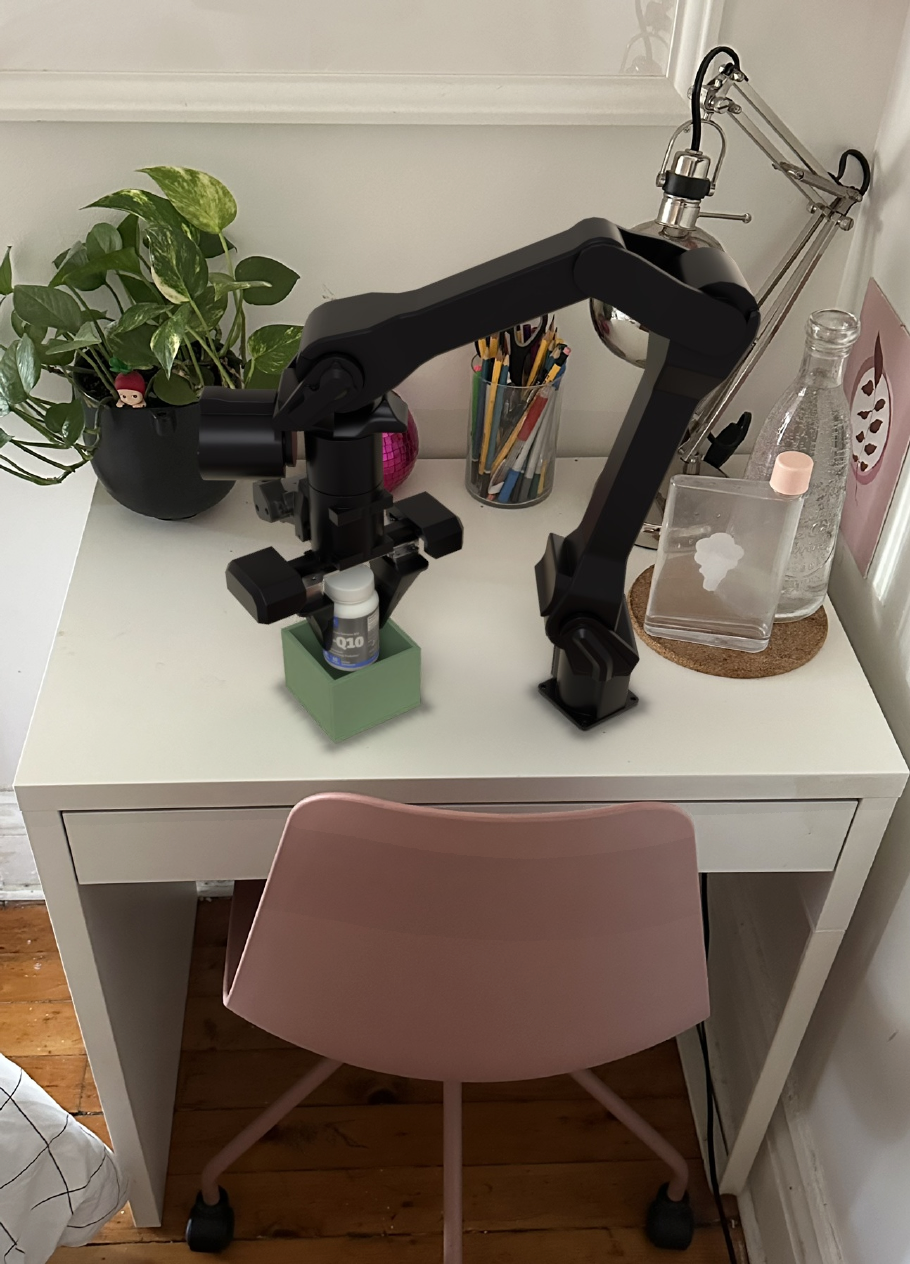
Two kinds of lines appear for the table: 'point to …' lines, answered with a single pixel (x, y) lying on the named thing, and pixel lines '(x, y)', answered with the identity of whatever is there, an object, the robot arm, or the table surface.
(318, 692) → the waste bin
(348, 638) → the pill bottle
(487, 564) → the table surface
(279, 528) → the table surface
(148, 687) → the table surface
